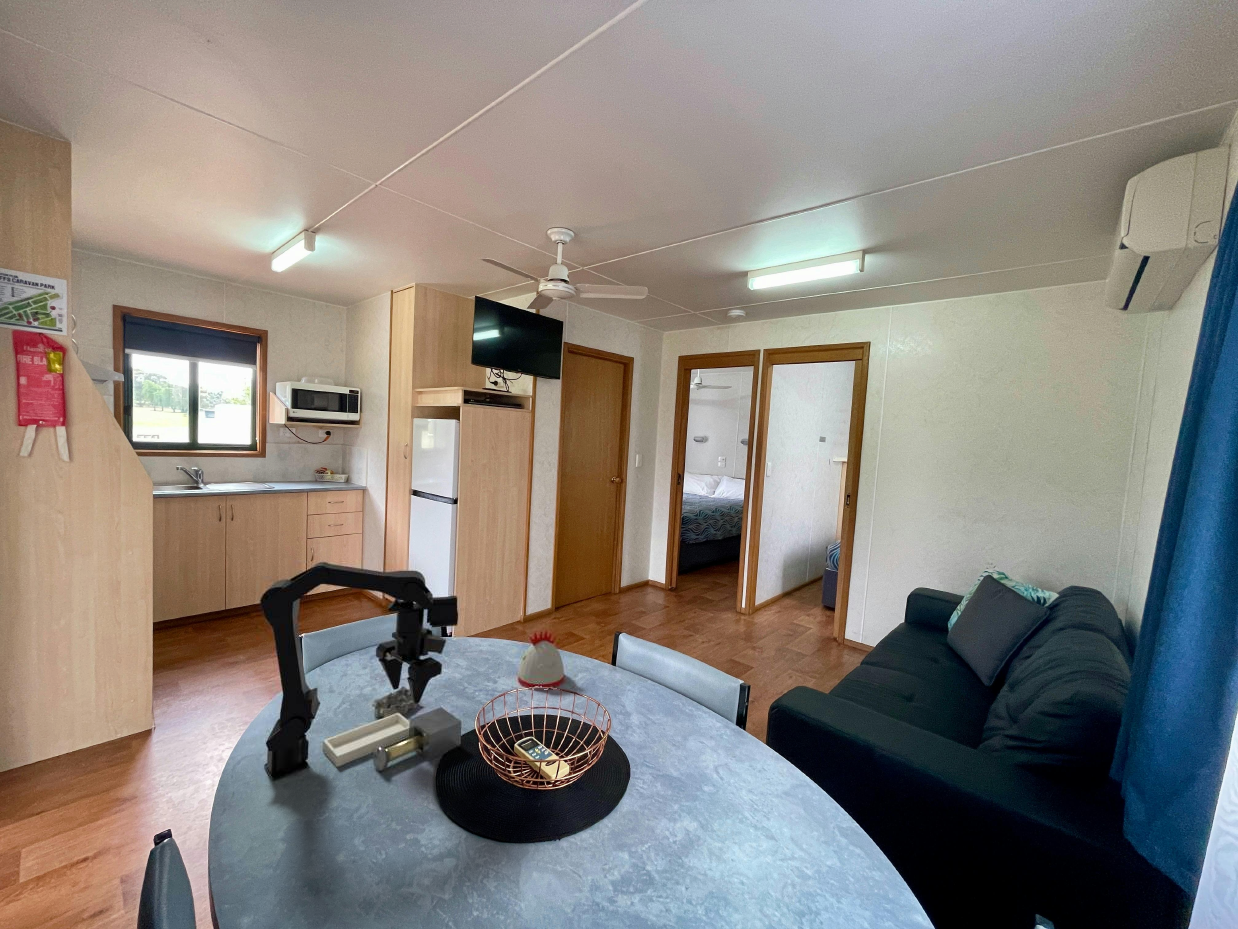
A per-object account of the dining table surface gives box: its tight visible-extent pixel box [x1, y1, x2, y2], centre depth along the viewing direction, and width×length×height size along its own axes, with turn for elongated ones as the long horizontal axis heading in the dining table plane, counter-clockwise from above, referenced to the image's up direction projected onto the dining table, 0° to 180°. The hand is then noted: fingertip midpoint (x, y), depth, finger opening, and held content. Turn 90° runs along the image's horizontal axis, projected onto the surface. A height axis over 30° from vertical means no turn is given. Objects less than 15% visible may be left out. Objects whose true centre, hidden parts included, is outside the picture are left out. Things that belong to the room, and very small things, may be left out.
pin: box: [372, 733, 424, 772], centre depth 112 cm, size 13×5×5 cm, turn 139°
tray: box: [322, 713, 410, 768], centre depth 117 cm, size 17×8×2 cm, turn 139°
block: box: [408, 706, 463, 762], centre depth 117 cm, size 8×9×6 cm
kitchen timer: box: [517, 629, 565, 688], centre depth 153 cm, size 14×14×15 cm
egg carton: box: [371, 686, 419, 718], centre depth 132 cm, size 11×8×4 cm
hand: (406, 696), depth 115 cm, fingers open, 9 cm apart
